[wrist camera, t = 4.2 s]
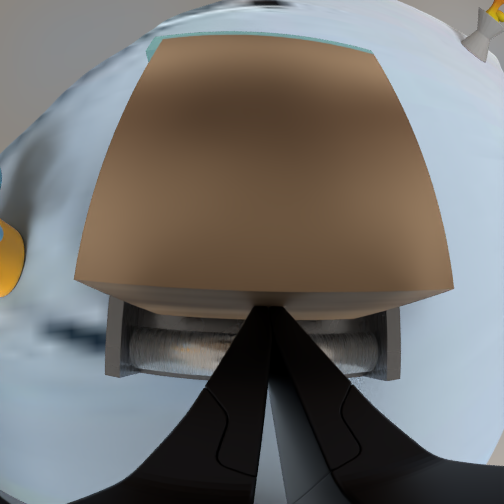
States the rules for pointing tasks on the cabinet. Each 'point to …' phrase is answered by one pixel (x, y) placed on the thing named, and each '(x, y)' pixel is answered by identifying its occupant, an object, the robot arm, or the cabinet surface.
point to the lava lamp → (485, 30)
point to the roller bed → (150, 319)
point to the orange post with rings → (10, 256)
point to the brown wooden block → (264, 187)
